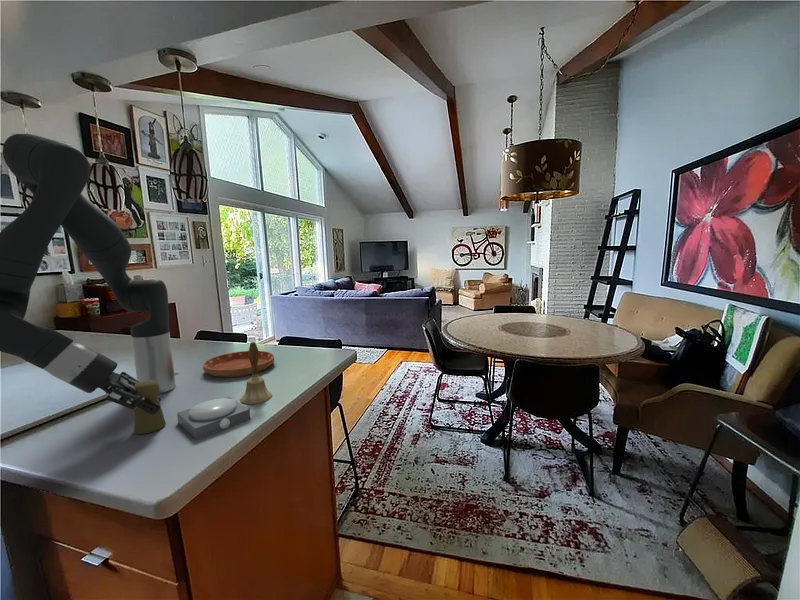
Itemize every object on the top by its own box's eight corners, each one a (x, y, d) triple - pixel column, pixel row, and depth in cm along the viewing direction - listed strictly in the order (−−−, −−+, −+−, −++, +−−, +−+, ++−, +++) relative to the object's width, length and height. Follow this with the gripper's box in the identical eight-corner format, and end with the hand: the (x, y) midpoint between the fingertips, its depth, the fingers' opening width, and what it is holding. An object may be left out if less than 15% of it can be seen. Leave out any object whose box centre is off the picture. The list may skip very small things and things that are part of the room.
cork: (141, 436, 77) (135, 389, 75) (129, 429, 80) (123, 383, 79) (170, 424, 82) (165, 380, 80) (158, 418, 85) (153, 375, 84)
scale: (178, 422, 83) (176, 408, 83) (229, 405, 92) (228, 393, 92) (197, 439, 75) (195, 424, 75) (251, 419, 84) (250, 405, 84)
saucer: (252, 355, 139) (251, 346, 139) (287, 365, 126) (287, 355, 125) (191, 372, 121) (190, 362, 120) (225, 385, 107) (224, 374, 107)
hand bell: (274, 391, 102) (270, 338, 99) (269, 403, 93) (264, 345, 91) (244, 393, 100) (240, 339, 98) (236, 406, 92) (231, 347, 90)
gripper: (90, 360, 68) (170, 403, 77) (102, 345, 80) (170, 383, 88) (57, 392, 66) (143, 433, 74) (74, 372, 78) (147, 409, 86)
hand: (157, 406), depth 81 cm, fingers closed on cork, 4 cm apart
